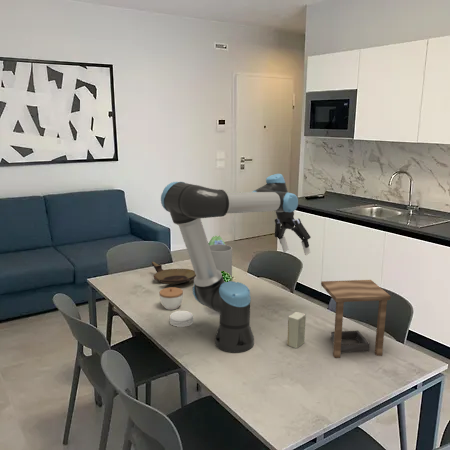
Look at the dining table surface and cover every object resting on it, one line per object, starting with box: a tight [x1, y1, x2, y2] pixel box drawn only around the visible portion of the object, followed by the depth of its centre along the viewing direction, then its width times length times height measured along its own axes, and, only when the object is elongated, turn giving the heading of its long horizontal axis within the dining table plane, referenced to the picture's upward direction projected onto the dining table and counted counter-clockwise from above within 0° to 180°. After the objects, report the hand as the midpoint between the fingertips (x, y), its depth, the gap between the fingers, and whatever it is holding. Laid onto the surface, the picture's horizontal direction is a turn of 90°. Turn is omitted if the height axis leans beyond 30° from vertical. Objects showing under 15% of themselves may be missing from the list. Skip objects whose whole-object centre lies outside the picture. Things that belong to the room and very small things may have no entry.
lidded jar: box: [159, 286, 184, 311], centre depth 208 cm, size 11×11×9 cm
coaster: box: [169, 310, 194, 328], centre depth 193 cm, size 10×10×4 cm
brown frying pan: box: [151, 261, 196, 285], centre depth 242 cm, size 22×30×8 cm
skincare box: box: [286, 311, 307, 349], centre depth 173 cm, size 6×4×12 cm
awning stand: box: [320, 279, 392, 359], centre depth 170 cm, size 17×20×24 cm
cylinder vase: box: [209, 244, 233, 278], centre depth 218 cm, size 12×12×25 cm
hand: (296, 252), depth 202 cm, fingers open, 13 cm apart
